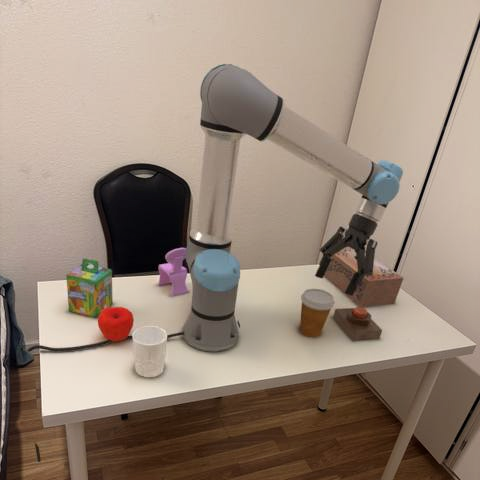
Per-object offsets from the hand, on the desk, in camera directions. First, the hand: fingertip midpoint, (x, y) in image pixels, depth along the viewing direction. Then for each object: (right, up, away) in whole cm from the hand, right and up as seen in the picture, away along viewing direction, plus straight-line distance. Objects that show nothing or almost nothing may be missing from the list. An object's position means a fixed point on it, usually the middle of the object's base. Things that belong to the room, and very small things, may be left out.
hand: (332, 285), depth 129 cm
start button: (+8, -9, +2) cm, 12 cm away
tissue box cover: (+14, +1, +29) cm, 32 cm away
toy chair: (-49, 0, +12) cm, 51 cm away
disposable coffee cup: (-7, -14, 0) cm, 15 cm away
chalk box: (-70, -7, -3) cm, 71 cm away
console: (+8, -13, +5) cm, 16 cm away
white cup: (-50, -22, -23) cm, 59 cm away
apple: (-60, -15, -14) cm, 64 cm away
